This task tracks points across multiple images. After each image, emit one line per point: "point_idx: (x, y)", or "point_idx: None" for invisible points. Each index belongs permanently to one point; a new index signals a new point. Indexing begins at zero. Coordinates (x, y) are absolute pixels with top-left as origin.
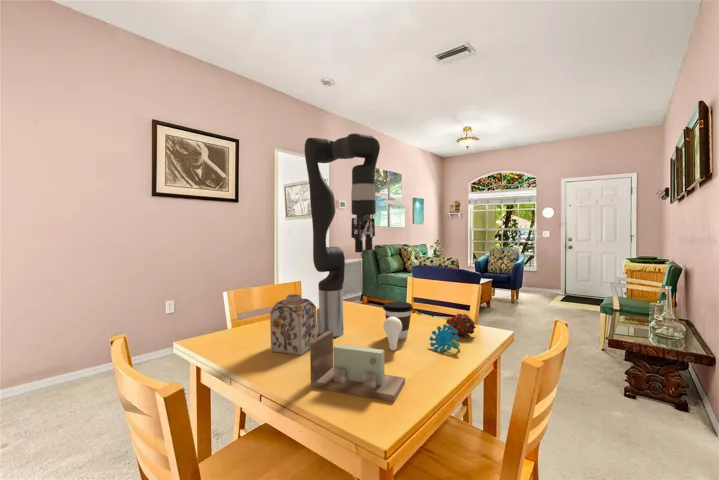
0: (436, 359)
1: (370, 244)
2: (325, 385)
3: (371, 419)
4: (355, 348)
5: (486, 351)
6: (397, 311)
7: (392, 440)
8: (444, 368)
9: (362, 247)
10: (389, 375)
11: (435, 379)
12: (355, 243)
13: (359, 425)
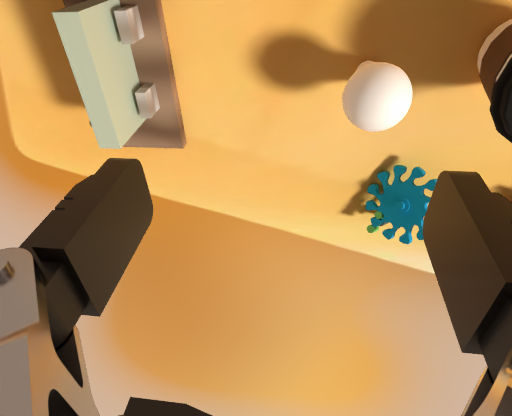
0: (326, 179)
1: (442, 273)
2: None
3: (51, 122)
4: (86, 80)
5: (396, 256)
6: (492, 102)
7: (35, 160)
8: (282, 196)
9: (128, 247)
10: (176, 119)
11: (227, 186)
12: (38, 227)
13: (27, 111)
